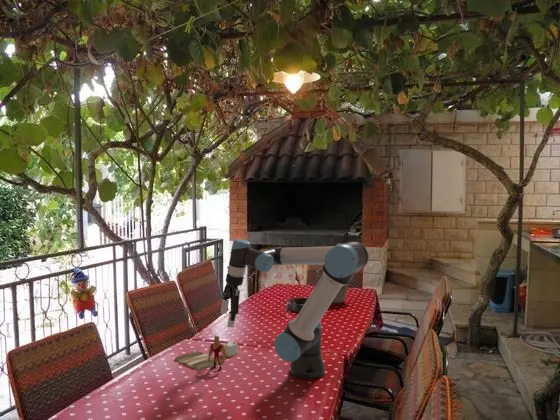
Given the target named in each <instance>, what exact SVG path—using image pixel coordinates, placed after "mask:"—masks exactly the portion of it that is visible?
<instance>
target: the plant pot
mask: <svg viewBox="0 0 560 420" xmlns="http://www.w3.org/2000/svg"><path fill="white" fill-rule="evenodd" d="M322 275H323V271H322V268H320V269H317V270H316V278H317V280H318V281H319V280H320V278H321V276H322ZM349 285H350V283H349V284H348V285H344V286H342V287H341V289H340V290H339V292H338V293H337V295H336V297H335V298H334V300H333V301H332V303H331V304H341V303H344V302H345V301H346V297H347V293H348V290H349V289H348V288H349Z"/></svg>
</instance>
